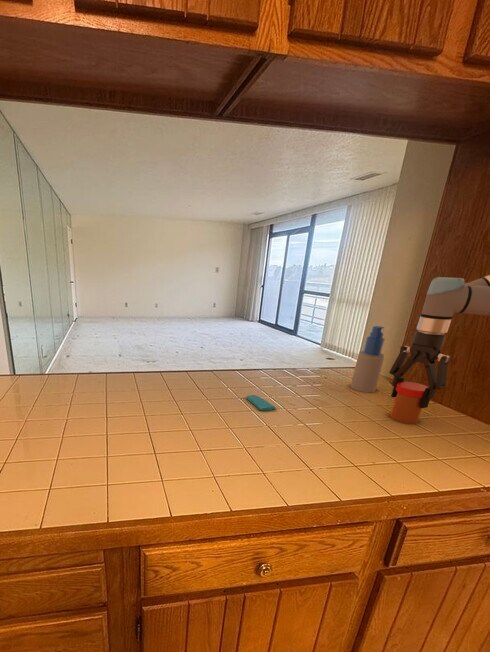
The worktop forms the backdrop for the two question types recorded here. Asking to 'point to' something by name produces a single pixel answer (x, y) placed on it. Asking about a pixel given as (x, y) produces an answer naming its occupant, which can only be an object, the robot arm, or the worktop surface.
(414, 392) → the lid
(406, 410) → the jar
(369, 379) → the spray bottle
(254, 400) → the sponge
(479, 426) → the worktop surface
